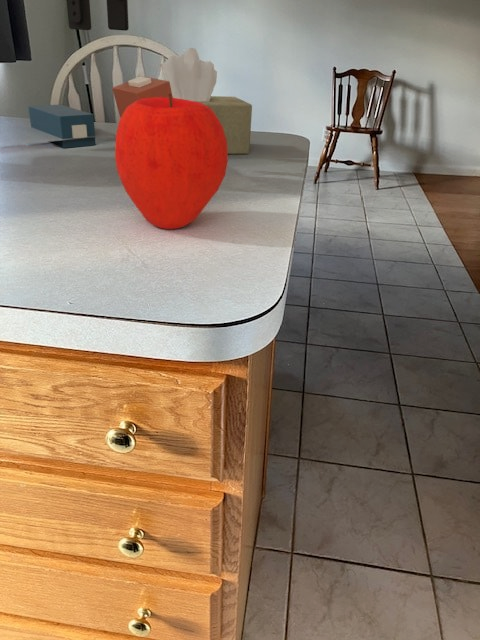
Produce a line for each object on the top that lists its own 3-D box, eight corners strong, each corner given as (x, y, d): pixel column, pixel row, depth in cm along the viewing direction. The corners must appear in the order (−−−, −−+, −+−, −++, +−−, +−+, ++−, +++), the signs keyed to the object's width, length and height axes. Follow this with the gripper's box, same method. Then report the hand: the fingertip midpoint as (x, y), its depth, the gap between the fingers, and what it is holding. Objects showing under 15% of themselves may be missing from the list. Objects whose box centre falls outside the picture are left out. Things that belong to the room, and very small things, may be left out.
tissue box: (234, 142, 101) (239, 48, 94) (251, 154, 93) (257, 52, 86) (133, 143, 96) (129, 43, 88) (141, 155, 88) (137, 47, 80)
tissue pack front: (136, 88, 66) (168, 76, 68) (110, 82, 70) (141, 71, 72) (159, 184, 74) (188, 170, 76) (135, 174, 78) (163, 161, 80)
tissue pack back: (97, 145, 93) (95, 114, 90) (65, 149, 89) (61, 117, 87) (63, 132, 101) (60, 104, 98) (32, 135, 97) (28, 106, 95)
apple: (247, 228, 60) (255, 99, 54) (160, 251, 53) (157, 105, 46) (181, 201, 67) (181, 85, 61) (98, 218, 60) (87, 88, 54)
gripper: (102, -108, 77) (110, 28, 85) (20, -141, 63) (38, 27, 71) (149, -108, 75) (152, 31, 83) (75, -142, 61) (88, 31, 69)
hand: (100, 29), depth 77 cm, fingers open, 9 cm apart
